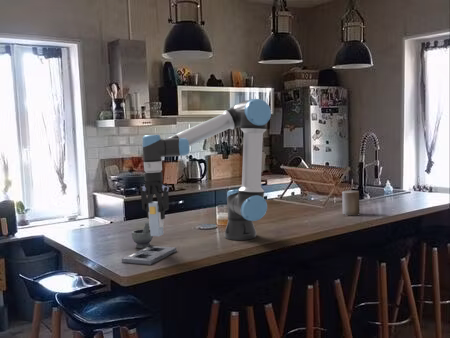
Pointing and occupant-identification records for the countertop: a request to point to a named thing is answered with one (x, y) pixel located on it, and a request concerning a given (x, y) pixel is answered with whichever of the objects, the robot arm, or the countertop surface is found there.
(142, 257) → the port panel
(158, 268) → the countertop surface
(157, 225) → the plug
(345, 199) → the pillar candle
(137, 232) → the mortar and pestle
